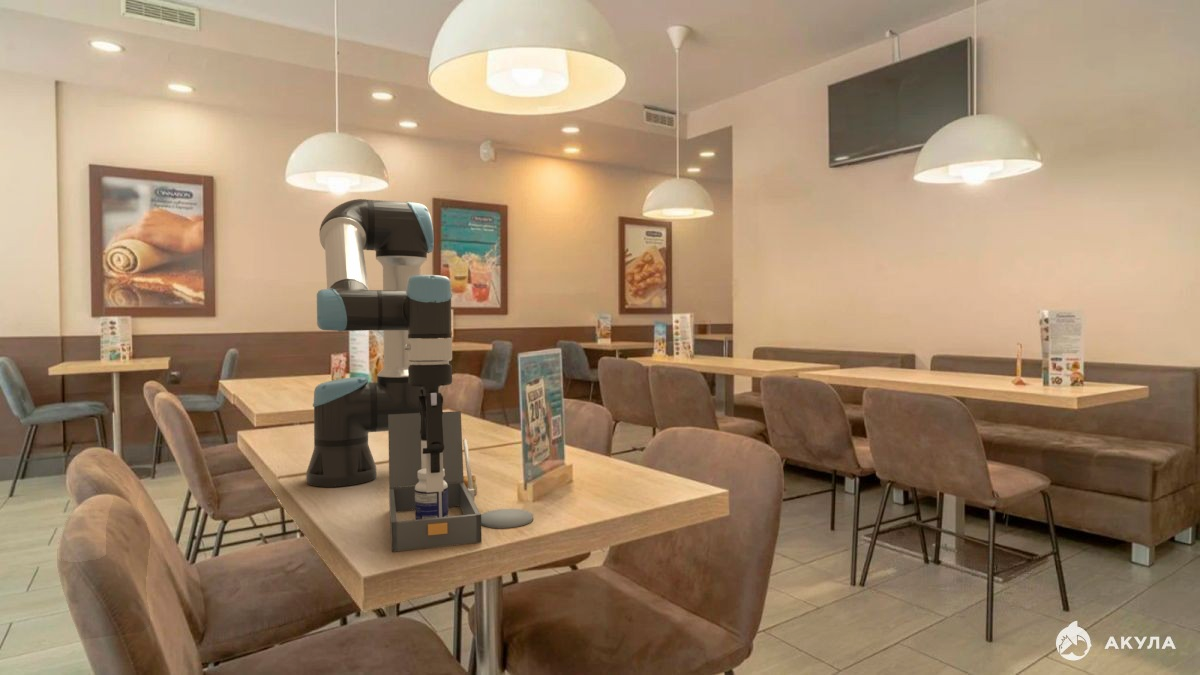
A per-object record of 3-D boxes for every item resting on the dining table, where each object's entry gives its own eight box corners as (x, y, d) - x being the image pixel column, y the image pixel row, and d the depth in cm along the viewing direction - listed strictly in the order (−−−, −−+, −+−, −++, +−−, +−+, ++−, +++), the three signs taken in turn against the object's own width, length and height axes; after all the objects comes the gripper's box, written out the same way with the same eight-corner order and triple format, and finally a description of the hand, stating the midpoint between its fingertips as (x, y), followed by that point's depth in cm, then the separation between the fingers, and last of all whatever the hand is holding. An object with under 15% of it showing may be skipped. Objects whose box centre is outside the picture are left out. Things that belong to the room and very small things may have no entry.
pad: (474, 515, 124) (474, 511, 124) (526, 509, 127) (526, 506, 127) (482, 530, 114) (482, 527, 114) (538, 524, 118) (538, 521, 118)
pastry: (432, 499, 136) (432, 481, 136) (432, 492, 142) (432, 474, 142) (478, 496, 138) (478, 478, 138) (476, 489, 145) (476, 471, 145)
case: (389, 505, 131) (388, 414, 130) (466, 499, 135) (465, 410, 135) (392, 553, 103) (390, 437, 103) (488, 542, 108) (487, 431, 108)
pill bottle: (435, 518, 122) (434, 465, 121) (455, 524, 118) (454, 469, 118) (408, 526, 117) (407, 470, 117) (428, 532, 114) (427, 475, 113)
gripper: (405, 361, 128) (406, 471, 128) (411, 366, 104) (413, 501, 104) (445, 360, 130) (446, 468, 130) (460, 365, 106) (461, 497, 106)
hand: (431, 483), depth 117 cm, fingers open, 13 cm apart
